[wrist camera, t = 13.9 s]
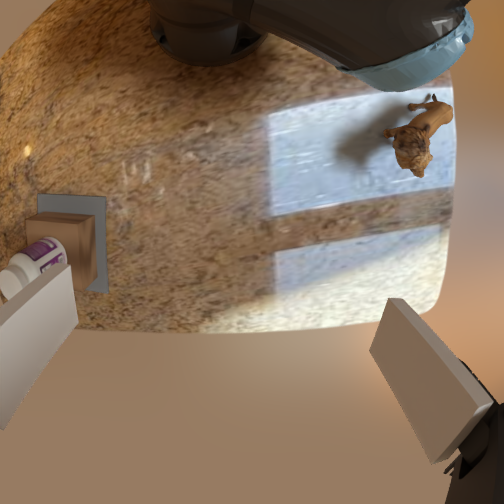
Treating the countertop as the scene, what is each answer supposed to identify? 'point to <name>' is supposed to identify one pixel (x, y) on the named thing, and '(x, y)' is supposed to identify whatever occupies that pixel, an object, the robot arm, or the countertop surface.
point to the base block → (69, 242)
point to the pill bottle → (30, 264)
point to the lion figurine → (419, 135)
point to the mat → (97, 208)
